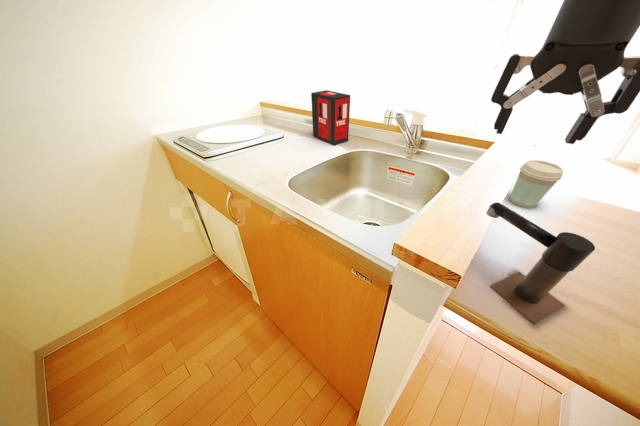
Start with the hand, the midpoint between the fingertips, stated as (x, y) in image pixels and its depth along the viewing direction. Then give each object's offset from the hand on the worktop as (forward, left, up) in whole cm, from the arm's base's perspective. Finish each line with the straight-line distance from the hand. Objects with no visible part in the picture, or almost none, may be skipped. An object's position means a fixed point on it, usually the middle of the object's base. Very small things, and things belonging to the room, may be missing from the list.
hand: (532, 137), depth 35 cm
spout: (-6, -1, -16) cm, 17 cm away
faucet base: (-12, 0, -27) cm, 29 cm away
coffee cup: (+8, -30, -27) cm, 41 cm away
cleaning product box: (+82, -3, -27) cm, 87 cm away
